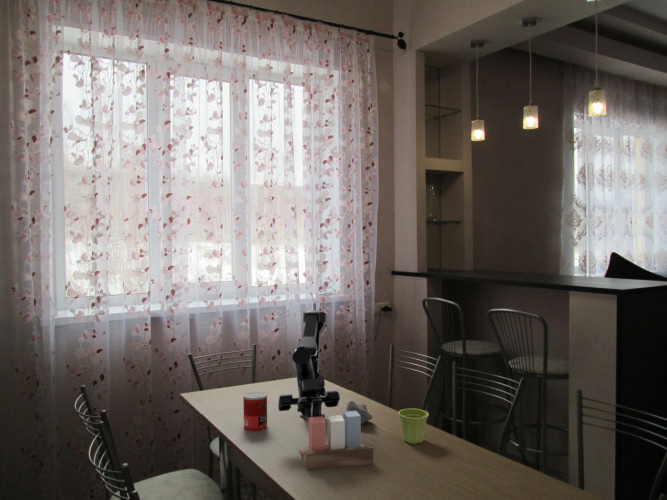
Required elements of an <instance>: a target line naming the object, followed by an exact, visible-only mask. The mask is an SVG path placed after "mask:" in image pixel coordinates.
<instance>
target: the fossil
mask: <svg viewBox="0 0 667 500" xmlns="http://www.w3.org/2000/svg"><path fill="white" fill-rule="evenodd" d="M346 411H357V412H358V413H359V415H360V416H361V425H363V424H364V423H365V422H366V421H370V420H373V415H372V414H371V413H370V412H368V409H367V405H366V404H364V403H356V402H355V400H350V401H349V402H348V403H347V405H346ZM346 411H345V412H346Z"/></svg>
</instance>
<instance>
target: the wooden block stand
mask: <svg viewBox="0 0 667 500" xmlns="http://www.w3.org/2000/svg"><path fill="white" fill-rule="evenodd" d="M299 454H300V457H301V460H302V462H303V465H304V467H305V469H306V471H313V470H314V471H315V470H323V469H334V468H343V467H354V466H363V465H374V447H373V446H372V445H369V446H368V445H367V446H365V445H364V444H363V443H362V441H361V447H355V448H346V447H345V448H343V449H332V450H327V444H326V450H321V451H310V452H309V445H307V446H300V447H299Z"/></svg>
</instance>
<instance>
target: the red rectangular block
mask: <svg viewBox="0 0 667 500" xmlns="http://www.w3.org/2000/svg"><path fill="white" fill-rule="evenodd" d="M326 426H327V421H326V420H325V418H324V417H309V423H308V446H309V452H310V451H321V450H326V445H327V444H326V443H327V433H326V431H327V427H326Z"/></svg>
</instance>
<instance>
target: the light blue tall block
mask: <svg viewBox="0 0 667 500" xmlns="http://www.w3.org/2000/svg"><path fill="white" fill-rule="evenodd" d="M342 413H343V416H342V418H343V419H344V420H345V447H346V448H355V447H361V442H362V440H361V439H362V437H361V436H362V435H361V433H362V430H361V429H362V427H361V426H362V424H361V416H360V415H359V413H358V412H357V411H342Z"/></svg>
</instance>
